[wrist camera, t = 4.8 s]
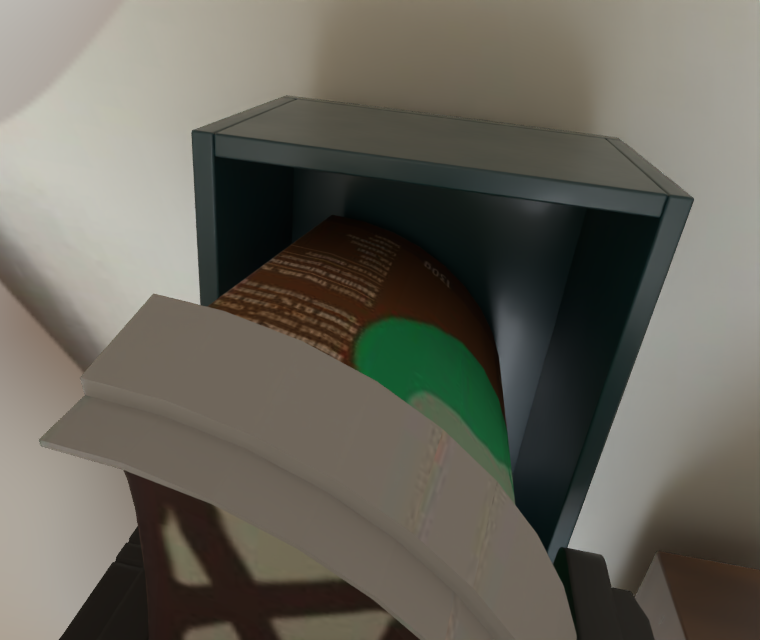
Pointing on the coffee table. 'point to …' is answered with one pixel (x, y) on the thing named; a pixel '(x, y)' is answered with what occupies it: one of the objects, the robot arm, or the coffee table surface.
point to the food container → (321, 454)
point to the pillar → (700, 599)
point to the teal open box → (470, 250)
